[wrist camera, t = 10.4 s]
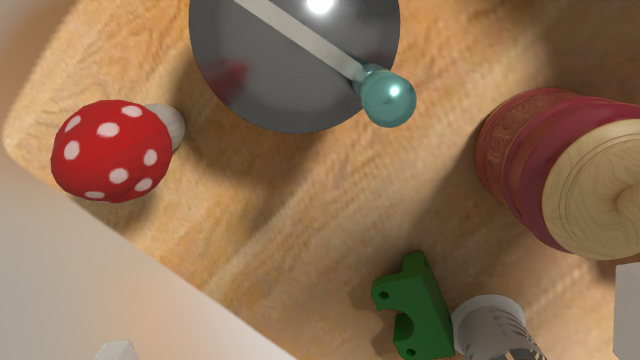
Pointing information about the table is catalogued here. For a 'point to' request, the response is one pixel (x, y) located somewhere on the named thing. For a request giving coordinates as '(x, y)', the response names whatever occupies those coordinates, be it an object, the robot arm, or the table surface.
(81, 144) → the decorative mushroom
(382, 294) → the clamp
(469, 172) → the table surface
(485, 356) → the french press
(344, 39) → the crank wheel
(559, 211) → the canister
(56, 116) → the table surface
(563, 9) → the table surface
